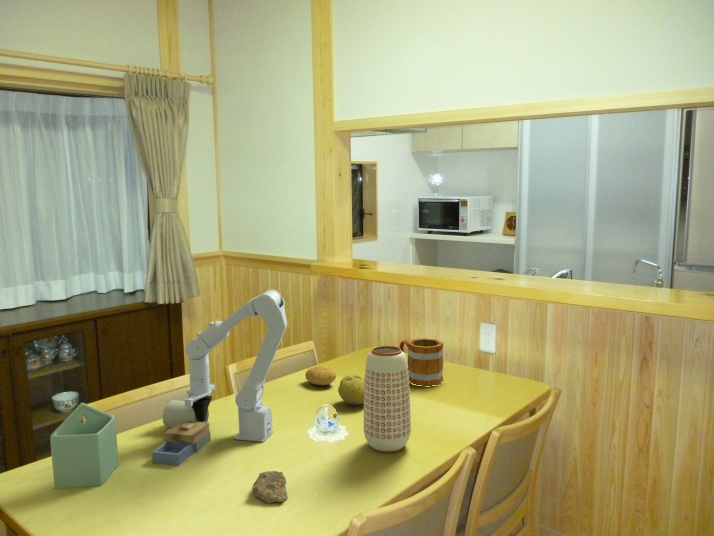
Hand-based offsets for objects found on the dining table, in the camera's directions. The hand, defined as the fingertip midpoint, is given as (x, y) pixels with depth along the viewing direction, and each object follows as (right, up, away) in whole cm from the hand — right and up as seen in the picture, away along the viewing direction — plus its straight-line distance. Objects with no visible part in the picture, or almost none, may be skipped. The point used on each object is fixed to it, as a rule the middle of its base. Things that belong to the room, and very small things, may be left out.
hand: (201, 421), depth 175 cm
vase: (+55, -5, -9) cm, 56 cm away
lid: (-2, -2, -8) cm, 8 cm away
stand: (-2, -5, -7) cm, 9 cm away
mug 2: (+70, +3, +48) cm, 85 cm away
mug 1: (-11, 0, +8) cm, 13 cm away
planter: (-20, -8, -27) cm, 34 cm away
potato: (+33, +2, +44) cm, 55 cm away
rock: (+26, -9, -34) cm, 44 cm away
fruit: (+46, -1, +24) cm, 51 cm away
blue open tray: (-4, -6, -14) cm, 16 cm away
